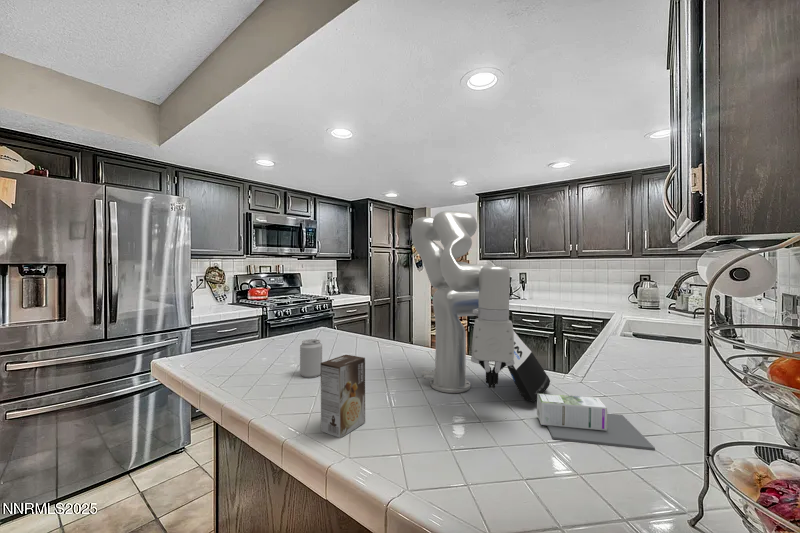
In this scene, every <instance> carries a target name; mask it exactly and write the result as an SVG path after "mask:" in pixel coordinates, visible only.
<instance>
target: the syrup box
mask: <svg viewBox="0 0 800 533" xmlns="http://www.w3.org/2000/svg"><path fill="white" fill-rule="evenodd" d="M608 414H609V413H608V408H607V406H606V405H605V404H604V403H603V402H602V401H601V399H600V397H592V396H580V395H579V396H578V395H577V396H576V395H565V394H550V393H543V394H540V393H538V394H537V399H536V416H537V417H538V420H539V423H540V425H541V426H542V425H543V426H547V425H549V426H560V427H571V428H583V429H594V430H605V431H606V430H607V425H608Z"/></svg>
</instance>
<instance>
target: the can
mask: <svg viewBox="0 0 800 533" xmlns="http://www.w3.org/2000/svg"><path fill="white" fill-rule="evenodd" d="M299 362H300V363H299V374H300V375H301V376H302V377H303V378H308V379H312V378H316V377H319V376H321V363H322V362H323V343H321V340H320V339H318V338H317V339H316V338H309V339H305V340H302V342H301V345H300V346H299Z"/></svg>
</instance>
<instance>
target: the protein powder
mask: <svg viewBox="0 0 800 533" xmlns="http://www.w3.org/2000/svg"><path fill="white" fill-rule="evenodd" d="M513 331H514V363H515V364H514V365H511V366H506V368H507V369H508V371H509V373H510V375H511V378H512V380H513V382H514V384H515V386H516V388H517V390H518V392H519V395H520V397H521V398H523V399H524V400H525V401H530V402H533V403H535V401H537V394H538V393H540V394H545V392H546V390H548V388H549V386H550V384H551V380H550V377H549V376H548V374H547V372H546V371H545V369H544V368H543V367H542V365H541V363H540V362H539V360H538V359H537V357H536V356H535V355H534V353H533V352H532V350H531V349H530V348H529V347H528V346H527V345H526V344H525V342H524V341H523V340H522V339H521V338H520V337H519V335H518V334H517V333H516V332H515V330H514V329H513Z"/></svg>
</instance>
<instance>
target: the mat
mask: <svg viewBox="0 0 800 533" xmlns="http://www.w3.org/2000/svg"><path fill="white" fill-rule="evenodd" d="M546 428H547V429H548V431H549V434H550V436H551V439H552V440H555V441H567V442H575V443H582V444H583V443H584V444H594V445H603V446H604V445H605V446H611V447H612V446H613V447H619V448H620V447H621V448H632V449H639V450H648V451H650V450H651V451H655V450H656V448H655V446H654V445H653V444H652V443H651V442H650V441H649V440H648V439H647V438H646V437H645V436H644V435H643V434H642V433H641V432H640V431H639V430H638V429H637V428H636V427H635V426H634V425H633V424H632V423H631V422H630V421H629V419H627V418H626V417H625V416H624V415H623V414H617V413H608V425H607V430H606V431H605V430H594V429H583V428H571V427H560V426H549V425H546Z"/></svg>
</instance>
